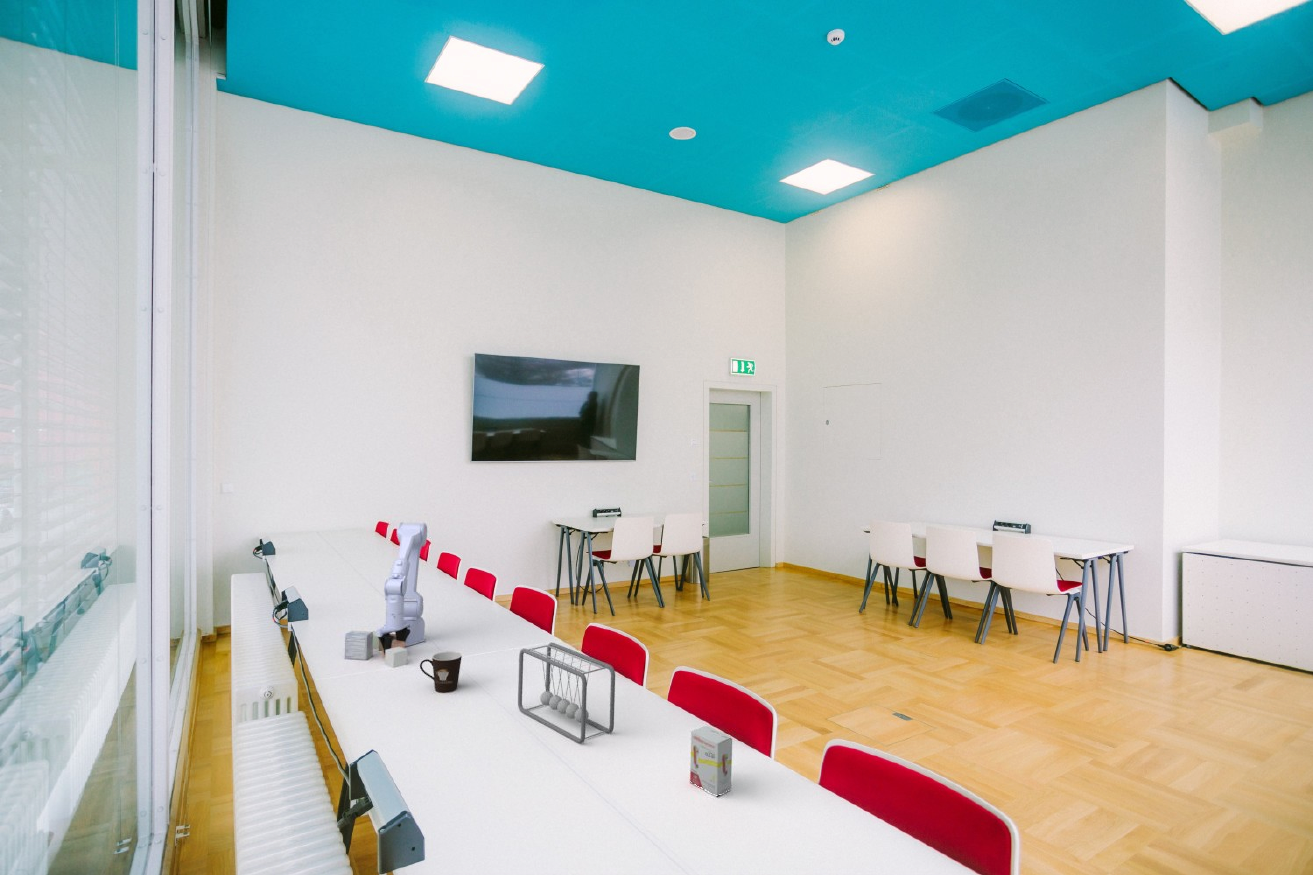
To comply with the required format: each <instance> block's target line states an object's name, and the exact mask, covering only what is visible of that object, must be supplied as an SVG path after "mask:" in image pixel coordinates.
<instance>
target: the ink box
mask: <svg viewBox="0 0 1313 875" xmlns="http://www.w3.org/2000/svg"><path fill="white" fill-rule="evenodd" d="M690 733H691V735H690V736H691V737H690V770H689V771H690V774H689V777H690V778H689V782H690V781H691V782H692V783H694V784H696V785H697V786H699V787H702V788H703V789H706V790H707V791H709V792H710V793H712V794H715V795H719V794H723V793H725V792H726V791H728V790H730V789H731V790H732V768H733V764H732V762H733V760H732V759H733V738H732V737H731V736H730V735H728V734H726V733H724V732H722V731H720V730H718V729H716V728H714V727H711V726H709V725H704V726H701V727H699V728H696V729H694V730H692V731H690ZM697 786H696V787H697ZM699 787H698V788H699ZM710 793H709V794H710ZM712 794H711V795H712ZM725 794H726V793H725ZM723 795H724V794H723Z"/></svg>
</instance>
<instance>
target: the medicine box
mask: <svg viewBox="0 0 1313 875" xmlns="http://www.w3.org/2000/svg"><path fill="white" fill-rule="evenodd" d="M373 653H374V649H373V631H365V630H363V631H362V630H350V631H348V632H347V633H345V634H344V660H359V661H367V660H369V659H370V658H372V657H373Z"/></svg>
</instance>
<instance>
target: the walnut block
mask: <svg viewBox="0 0 1313 875" xmlns="http://www.w3.org/2000/svg"><path fill="white" fill-rule="evenodd" d="M390 635H391V636H394V638H393V640H396V634H395V633H390ZM378 651H379V652H383V647H382V644H381V642H380V640H379V649H378Z"/></svg>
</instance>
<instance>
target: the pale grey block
mask: <svg viewBox="0 0 1313 875" xmlns="http://www.w3.org/2000/svg"><path fill="white" fill-rule="evenodd" d="M408 651H409V650H408V649H407V648H406V647H405V648H402V647H395V648H391V649H387V650H386V654H385V658H384V660H385V661H384V662H385V663H384V664H385V666H388V667H389V668H391V669H392V668H393V669H396V668H400V667H403V666H407V665H408V654H409V652H408Z"/></svg>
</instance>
